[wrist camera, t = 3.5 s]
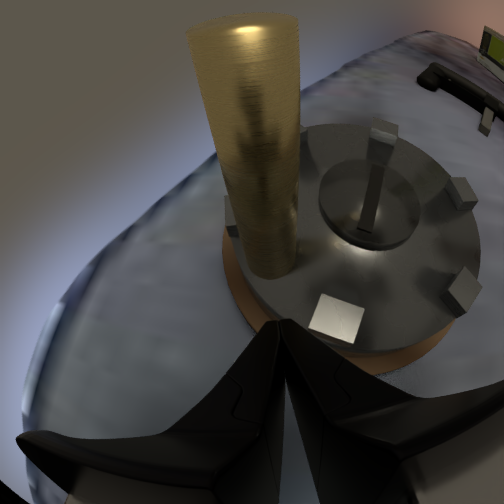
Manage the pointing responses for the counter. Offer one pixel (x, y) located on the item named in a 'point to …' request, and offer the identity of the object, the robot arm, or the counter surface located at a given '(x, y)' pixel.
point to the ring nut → (330, 201)
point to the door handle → (463, 93)
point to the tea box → (492, 52)
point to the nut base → (370, 364)
